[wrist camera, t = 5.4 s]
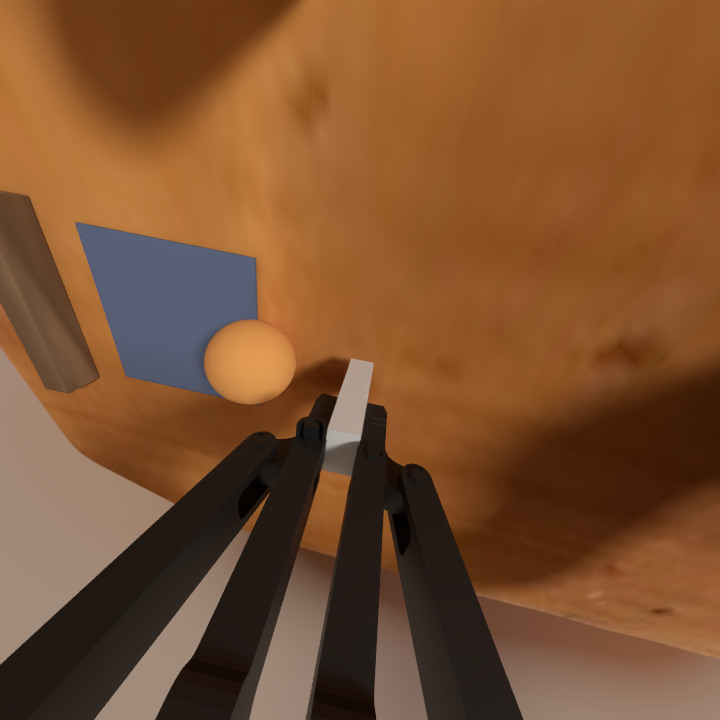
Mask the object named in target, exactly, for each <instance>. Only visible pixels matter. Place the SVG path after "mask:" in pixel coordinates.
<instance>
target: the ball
mask: <svg viewBox="0 0 720 720" xmlns="http://www.w3.org/2000/svg"><path fill="white" fill-rule="evenodd" d="M204 369H205V373H206V376H207V378H208V380H209V382H210V384H211V385H212V387H213V388H214V389H215V390H216V391H217V392H218V393H219V394H220V395H222V396H223V397H225V398H226V399H228V400H231V401H233V402H236V403H240V404H259V403H264V402H266V401H269V400H271V399H273V398H275V397H277V396H278V395H279V394H281V393H282V392H283V391H284V390H285V389H286V388H287V387H288V385H289V384H290V382H291V380H292V378H293V376H294V373H295V369H296V355H295V351H294V348H293V345H292V343H291V341H290V340H289V338H288V337H287V336H286V335H285V334H284V333H283V332H282V331H281V330H280V329H279V328H277V327H276V326H274V325H272V324H270V323H267V322H264V321H261V320H254V319H248V320H240V321H236V322H233V323H230V324H228V325H226V326H225V327H223V328H222V329H220V330H219V331H218V332H217V333H216V334H215V335H214V336H213V337H212V339H211V340H210V342H209V344H208V346H207V348H206V351H205V356H204Z"/></svg>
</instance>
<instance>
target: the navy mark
mask: <svg viewBox="0 0 720 720" xmlns="http://www.w3.org/2000/svg"><path fill="white" fill-rule="evenodd" d="M75 224H76V227H77V230H78V233H79V236H80V239H81V242H82V245H83V248H84V251H85V254H86V257H87V260H88V263H89V266H90V269H91V272H92V275H93V278H94V281H95V284H96V287H97V290H98V293H99V296H100V299H101V302H102V305H103V308H104V311H105V314H106V317H107V320H108V323H109V326H110V329H111V332H112V335H113V338H114V341H115V344H116V347H117V350H118V353H119V357H120V360H121V363H122V366H123V369H124V372H125V375H126V376H127V377H131V378H136V379H140V380H145V381H149V382H154V383H158V384H163V385H168V386H172V387H177V388H181V389H186V390H190V391H195V392H199V393H204V394H208V395H213V396H218V397H222V398H225V397H223V396H222V395H220V394H219V393H218V392H217V391H216V390H215V389H214V388H213V387H212V385H211V384H210V382H209V380H208V378H207V376H206V373H205V369H204V356H205V351H206V348H207V346H208V344H209V342H210V340H211V339H212V337H213V336H214V335H215V334H216V333H217V332H218V331H219V330H220V329H222V328H223V327H225V326H226V325H228V324H230V323H233V322H236V321H240V320H248V319H254V320H258V314H257V281H256V258H253V257H248V256H243V255H238V254H233V253H228V252H223V251H218V250H213V249H208V248H203V247H198V246H193V245H188V244H183V243H178V242H173V241H168V240H163V239H158V238H153V237H148V236H143V235H138V234H133V233H128V232H123V231H118V230H113V229H108V228H103V227H98V226H93V225H88V224H83V223H75ZM254 405H260V403H259V404H254Z"/></svg>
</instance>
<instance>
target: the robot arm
mask: <svg viewBox="0 0 720 720" xmlns="http://www.w3.org/2000/svg"><path fill="white" fill-rule="evenodd" d="M373 364H374V363H371V362H367V361H362V360H357V359H352V358H351V361H350V364H349V367H348V370H347V373H346V376H345V379H344V382H343V384H342V387H341V390H340V393H339V396H338V397H335V396H331V395H326V394H322V395H321V396H319V397H318V398H317V399H316V401H315V404H314V406H313V408H312V411H311V412H310V415H309V416H308V417H304V418H302V419H300V420H299V421H298V423H297V427H296V436H295V437H292V438H288V439H276V437H275V436H274V435H273V434H271V433H269V432H265V431H264V432H257V433H253V434H252V435H250V436H249V437H248V438H246V439H245V440H244V441H243V442H242V443H241V444H240V445H239V446H238V447H237V448H236V449H234V450H233V451H232V452H231V453H230V454H229V455H228V456H227V457H226V458H225V459H224V460H222V461H221V462H220V463H219V464H218V465H217V466H216V467H215V468H214V469H213V470H212V471H211V472H209V473H208V474H207V475H206V476H205V477H204V478H203V479H202V480H201V481H200V482H199V483H197V484H196V485H195V486H194V487H193V488H192V489H191V490H190V491H189V492H188V493H187V494H185V495H184V496H183V497H182V498H181V499H180V500H179V501H178V502H177V503H176V504H175V505H174V506H173V507H171V508H170V509H169V510H168V511H167V512H166V513H165V514H164V515H163V516H162V517H160V518H159V520H157V521H156V522H155V523H154V524H153V525H152V526H151V527H150V528H149V529H147V530H146V531H145V532H144V533H143V534H142V535H141V536H140V537H139V538H138V539H137V540H136V541H134V542H133V543H132V544H131V545H130V546H129V547H128V548H127V549H126V550H125V551H123V552H122V553H121V554H120V555H119V556H118V557H117V558H116V559H115V560H114V561H113V562H112V563H110V564H109V565H108V566H107V567H106V568H105V569H104V570H103V571H102V572H101V573H100V574H98V576H96V577H95V578H94V579H93V580H92V581H91V582H90V583H89V584H88V585H87V586H85V587H84V588H83V589H82V590H81V591H80V592H79V593H78V594H77V595H76V596H75V597H73V598H72V599H71V600H70V601H69V602H68V603H67V604H66V605H65V606H64V607H63V608H62V609H60V610H59V611H58V612H57V613H56V614H55V615H54V616H53V617H52V618H51V619H50V620H48V621H47V622H46V623H45V624H44V625H43V626H42V627H41V628H40V629H39V630H38V631H37V632H35V633H34V634H33V635H32V636H31V637H30V638H29V639H28V640H27V641H26V642H25V643H23V644H22V645H21V646H20V647H19V648H18V649H17V650H16V651H15V652H14V653H13V654H11V655H10V656H9V657H8V658H7V659H6V660H5V661H4V662H3V663H2V664H1V665H0V720H94V719H95V718H96V716H97V715H98V714H99V712H100V711H101V710H102V709H103V707H104V706H105V705H106V703H107V702H108V701H109V699H110V698H111V697H112V696H113V694H114V693H115V692H116V690H117V689H118V688H119V686H120V685H121V684H122V683H123V681H124V680H125V679H126V678H127V676H128V675H129V674H130V672H131V671H132V670H133V668H134V667H135V666H136V665H137V663H138V662H139V661H140V659H141V658H142V657H143V656H144V654H145V653H146V652H147V650H148V649H149V648H150V646H151V645H152V644H153V643H154V641H155V640H156V639H157V637H158V636H159V635H160V633H161V632H162V631H163V630H164V628H165V627H166V626H167V624H168V623H169V622H170V621H171V619H172V618H173V617H174V615H175V614H176V613H177V612H178V610H179V609H180V608H181V606H182V605H183V604H184V602H185V601H186V600H187V598H188V597H189V596H190V595H191V593H192V592H193V591H194V589H195V588H196V587H197V586H198V584H199V583H200V582H201V580H202V579H203V578H204V577H205V575H206V574H207V573H208V571H209V570H210V569H211V567H212V566H213V565H214V564H215V562H216V561H217V560H218V558H219V557H220V556H221V554H222V553H223V552H224V550H225V549H226V548H227V547H228V545H229V544H230V543H231V541H232V540H233V539H234V538H235V536H236V535H237V534H238V533H239V531H240V530H241V529H242V527H243V526H244V525H245V523H246V522H247V521H248V520H249V518H250V517H251V516H252V514H253V513H254V512H255V511H256V509H257V508H258V507H259V505H260V504H261V503H262V501H263V500H264V499H265V498H266V496H267V495H268V494H269V496H268V498H267V500H266V502H265V504H264V506H263V508H262V511H261V513H260V515H259V517H258V519H257V521H256V523H255V526H254V528H253V530H252V532H251V534H250V536H249V539H248V541H247V543H246V545H245V547H244V549H243V551H242V553H241V556H240V558H239V560H238V562H237V564H236V567H235V569H234V571H233V573H232V575H231V577H230V579H229V581H228V583H227V586H226V588H225V590H224V592H223V594H222V596H221V598H220V601H219V603H218V605H217V607H216V609H215V611H214V613H213V616H212V618H211V620H210V622H209V624H208V626H207V628H206V631H205V633H204V635H203V637H202V639H201V642H200V643H199V646H198V647H197V650H196V651H195V653H194V655H193V656H192V658H191V659H190V660H189V662H188V663H187V664H186V665H185V666H184V667H183V668H182V670H181V672H180V673H179V675H178V676H177V678H176V680H175V681H174V683H173V685H172V687H171V689H170V691H169V693H168V695H167V697H166V699H165V701H164V703H163V705H162V707H161V709H160V711H159V713H158V715H157V717H156V719H155V720H249V717H250V714H251V709H252V705H253V700H254V696H255V693H256V689H257V686H258V682H259V679H260V676H261V672H262V669H263V666H264V662H265V659H266V656H267V652H268V649H269V646H270V642H271V639H272V636H273V632H274V629H275V626H276V622H277V619H278V616H279V612H280V609H281V606H282V602H283V599H284V596H285V592H286V589H287V586H288V582H289V579H290V576H291V572H292V569H293V566H294V562H295V559H296V556H297V552H298V549H299V546H300V542H301V539H302V536H303V532H304V529H305V526H306V522H307V519H308V516H309V512H310V509H311V506H312V502H313V499H314V496H315V492H316V489H317V486H318V482H319V478H320V472H321V469H322V470H326V471H330V472H335V473H339V474H343V475H348V476H351V481H350V485H349V490H348V494H347V501H346V507H345V512H344V517H343V523H342V528H341V533H340V539H339V544H338V549H337V555H336V560H335V566H334V571H333V577H332V582H331V587H330V592H329V598H328V604H327V609H326V614H325V619H324V625H323V630H322V635H321V641H320V646H319V652H318V657H317V662H316V668H315V673H314V678H313V683H312V689H311V694H310V699H309V705H308V710H307V715H306V720H376V713H375V707H374V683H375V664H376V645H377V627H378V608H379V589H380V570H381V551H382V532H383V513H384V509H385V510H386V511H388V517H389V522H390V527H391V532H392V537H393V542H394V547H395V552H396V558H397V563H398V568H399V573H400V578H401V583H402V588H403V594H404V599H405V604H406V609H407V614H408V619H409V624H410V629H411V635H412V639H413V645H414V649H415V655H416V660H417V665H418V671H419V675H420V681H421V686H422V691H423V696H424V701H425V706H426V712H427V717H428V720H523V718H522V715H521V712H520V710H519V707H518V704H517V702H516V699H515V696H514V694H513V691H512V689H511V686H510V683H509V681H508V678H507V675H506V673H505V670H504V668H503V665H502V663H501V660H500V657H499V655H498V652H497V649H496V647H495V644H494V641H493V639H492V636H491V633H490V631H489V628H488V626H487V623H486V620H485V618H484V615H483V613H482V610H481V607H480V605H479V602H478V599H477V597H476V594H475V591H474V589H473V586H472V583H471V581H470V578H469V576H468V573H467V570H466V568H465V565H464V562H463V560H462V557H461V555H460V552H459V549H458V547H457V544H456V541H455V539H454V536H453V533H452V531H451V528H450V526H449V523H448V520H447V518H446V515H445V512H444V510H443V507H442V505H441V502H440V499H439V497H438V494H437V491H436V489H435V486H434V484H433V481H432V478H431V476H430V474H429V473H428V471H427V470H425V469H424V468H423V467H421V466H419V465H417V464H407V465H405V466H404V467H403V466H401V465H399V464H397V463H396V462H394V461H393V460H392V459H391V458H389V456H388V455H387V453H386V451H385V439H386V420H387V412H386V410H385V408H384V406H380V405H375V404H370V403H367V400H368V394H369V388H370V382H371V376H372V370H373ZM269 492H270V493H269Z"/></svg>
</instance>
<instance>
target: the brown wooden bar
mask: <svg viewBox="0 0 720 720" xmlns="http://www.w3.org/2000/svg"><path fill="white" fill-rule="evenodd" d="M0 303H1V305H2V307H3V308H4V310H5V312H6V314H7V316H8V318H9V320H10V322H11V324H12V325H13V327H14V329H15V331H16V333H17V335H18V337H19V339H20V341H21V342H22V344H23V346H24V348H25V350H26V352H27V354H28V356H29V358H30V359H31V361H32V363H33V365H34V367H35V369H36V371H37V373H38V375H39V377H40V378H41V380H42V382H43V384H44V386H45V388H46V389H50V390H55V391H59V392H64V393H68V394H69V393H71V392H73V391H75V390H77V389H79V388H81V387H82V386H84V385H86V384H88V383H90V382H92V381H94V380H96V379H98V378H100V377H99V375H98V372H97V370H96V367H95V364H94V362H93V359H92V357H91V354H90V352H89V349H88V347H87V344H86V342H85V339H84V336H83V334H82V331H81V329H80V326H79V324H78V321H77V319H76V316H75V314H74V311H73V308H72V306H71V303H70V301H69V298H68V296H67V293H66V291H65V288H64V286H63V283H62V281H61V278H60V275H59V273H58V270H57V268H56V265H55V263H54V260H53V258H52V255H51V253H50V250H49V247H48V245H47V242H46V240H45V237H44V235H43V232H42V230H41V227H40V225H39V222H38V219H37V217H36V214H35V212H34V209H33V207H32V204H31V202H30V199H29V197H28V196H25V195H20V194H15V193H10V192H5V191H0Z"/></svg>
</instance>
